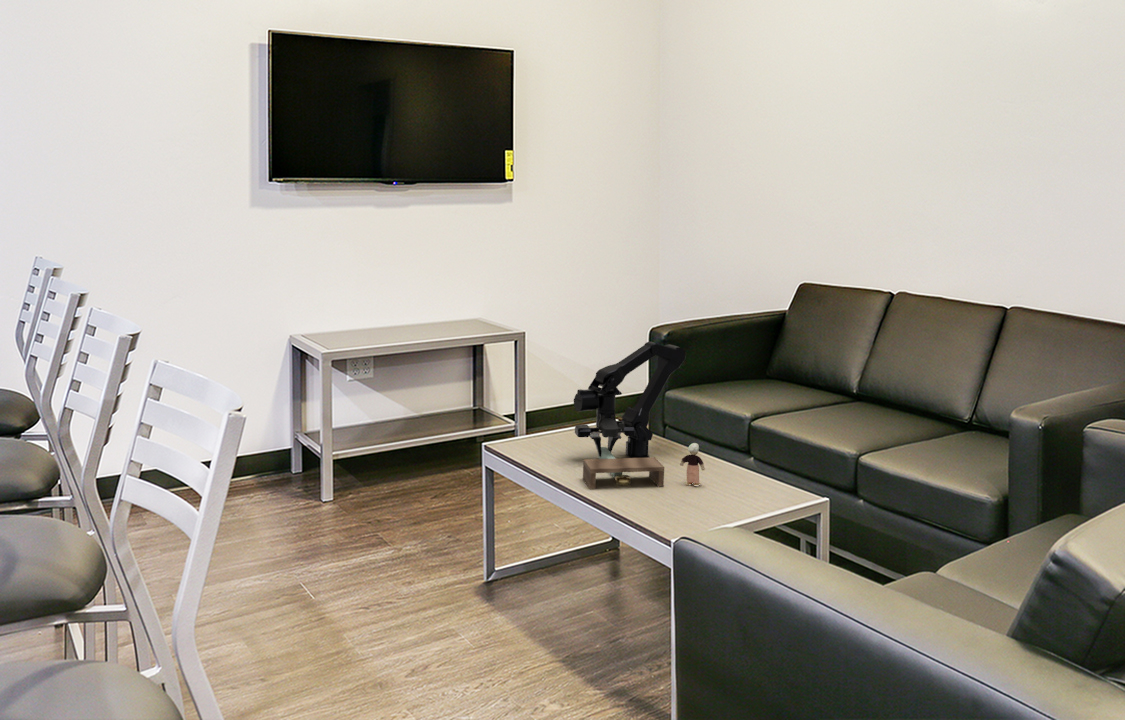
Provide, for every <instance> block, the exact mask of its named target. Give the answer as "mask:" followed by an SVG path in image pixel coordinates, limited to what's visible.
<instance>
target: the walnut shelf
mask: <svg viewBox="0 0 1125 720" xmlns="http://www.w3.org/2000/svg"><path fill="white" fill-rule="evenodd" d="M582 462H583V463H582V465H583V466H582V480H583V481H584V483H585V482H586V483H585V484H586V485H587V487H588V488H589V490H596V479H597V478H596V476H597V474H607V473H608V474H611V473H616V472H622V473H640V472H647V473H648V477H649V478H650V480H651V481H652V482H653V481H654V482H655V483H656V484H657V485H658V486H663V487H664V482H665V481H664V479H665V466H664V465H663V464H662V463H661V462H660V461H659V460H658V459H657V458H656V457H653V456H652V457H651V456H650V458H629V457H624V458H616V459H599V458H592V459H591V458H587V459H585V458H584V459H583V461H582ZM654 482H653V483H654ZM655 483H654V484H655ZM656 484H655V485H656ZM657 485H656V486H657ZM658 486H657V487H658Z"/></svg>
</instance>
